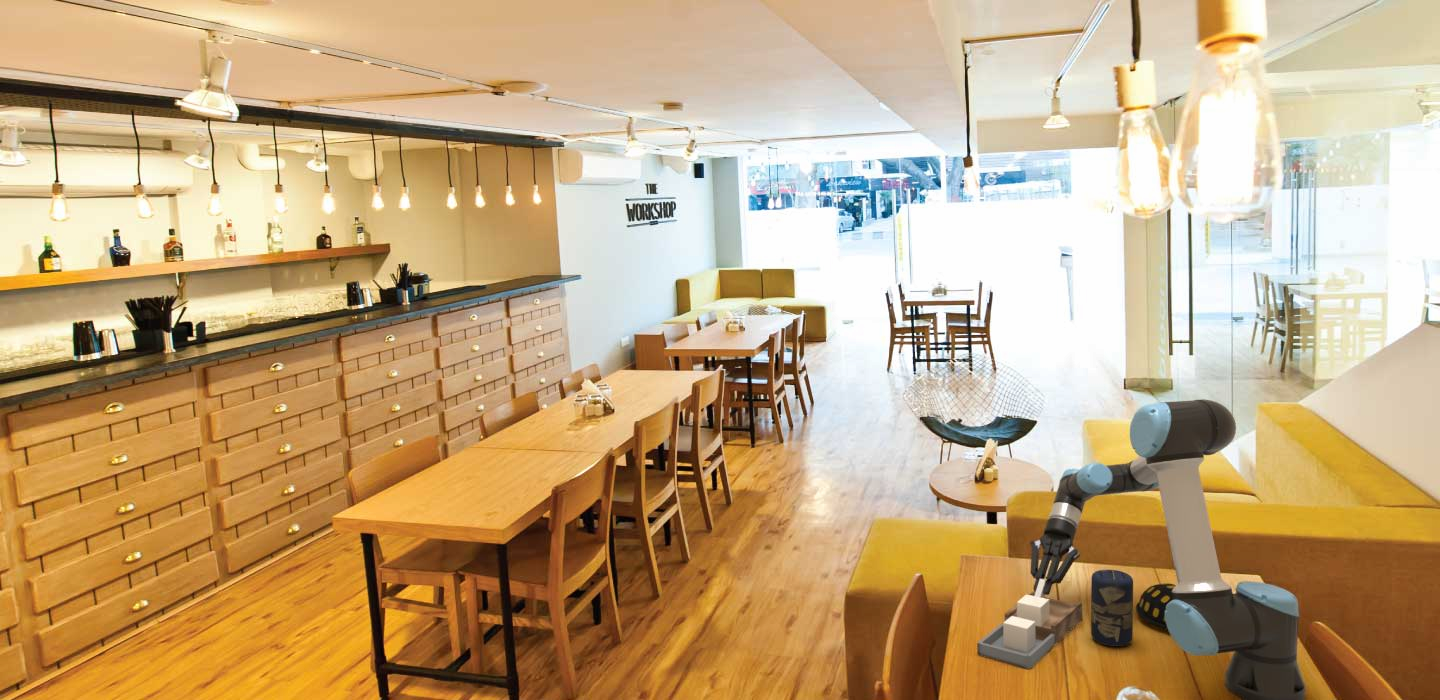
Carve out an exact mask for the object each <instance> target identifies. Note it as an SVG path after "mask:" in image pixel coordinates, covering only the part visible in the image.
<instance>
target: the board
mask: <svg viewBox="0 0 1440 700" xmlns="http://www.w3.org/2000/svg"><path fill="white" fill-rule="evenodd" d="M1028 595H1031V596H1035V591H1034V590H1033V591H1032V592H1030V593H1029V594H1028ZM1045 599H1050V618H1049V619H1048V620H1047V621H1046V622H1045V623H1044V624H1043V625H1042V626H1041V627H1039V626H1035V632H1036V639H1038V640H1042V641H1044V640H1045V639H1046V638H1047V637H1048V636H1049V635H1050V634H1055V644H1056V643H1057V644H1059V642H1061V641H1062V640H1063V639H1064V638H1065V637H1066V636H1067V635H1068V634H1069V633H1070V632H1071V631H1072V630H1074V629H1073V627H1075V626H1076V625H1077V624H1078V623H1079V622H1080V621H1081V622H1083V601H1079V600H1078V601H1077V602H1076V603H1072V602H1068V601H1064V600H1059V599H1055V598H1050V597H1046V596H1045ZM1011 616H1015V617H1017V603H1016V604H1015V605H1014V606H1012V607H1011V608H1010V609H1009V610H1008V611H1006V612H1005V613H1004V622H1005V621H1006V620H1007V619H1009V618H1010V617H1011ZM1081 622H1080V623H1081ZM1080 623H1079V624H1080ZM1079 624H1078V625H1079ZM1078 625H1077V626H1078ZM1077 626H1076V627H1077ZM1076 627H1075V628H1076ZM1071 629H1072V630H1071ZM1069 631H1070V632H1069ZM1067 633H1068V634H1067ZM1066 634H1067V635H1066ZM1065 635H1066V636H1065ZM1064 636H1065V637H1064ZM1063 637H1064V638H1063ZM1062 638H1063V639H1062ZM1061 639H1062V640H1061ZM1060 640H1061V641H1060ZM1057 644H1056V645H1057Z"/></svg>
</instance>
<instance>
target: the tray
mask: <svg viewBox="0 0 1440 700" xmlns="http://www.w3.org/2000/svg"><path fill="white" fill-rule="evenodd" d="M1004 622H1005V621H1003V622H1001V624H999V625H998V626H996V627H995V628H993V630H991V632H989V633H988V634H987V635H985V636H984V637H983V638H982V639H980V640H979V641H977V643H976V645H977V646H976V647H977V648H976V649H977V654H979V655H978V656H980V655H982V656H981V657H984V656H986V657H985V658H987V657H989V658H988V659H991V658H992V660H994V661H995V660H996V661H999V662H1002V663H1006V664H1009V665H1012V666H1017V667H1020V668H1024V669H1027V670H1030V669H1031V668H1032V667H1034V666H1035V665H1036V664H1037V663H1038V662H1039V661H1041V659H1042V658H1043V657H1044V656H1045V655H1047V652H1048V651H1049V650H1050V649H1051V648H1052V647H1053V646H1054V645H1055V634H1050V635H1049V636H1048V637H1047V638H1046V639H1045V640H1044V641H1042V640H1038V639H1036V645H1035V646H1034V647H1033V648H1032V649H1030V650H1029V651H1028V652H1024V651H1020V650H1016V649H1013V648H1009V647H1005V646H1004V641H1003V623H1004ZM1055 646H1056V645H1055ZM1055 646H1054V647H1055ZM1054 647H1053V648H1054ZM1053 648H1052V649H1053ZM1052 649H1051V650H1052ZM1051 650H1050V651H1051ZM1050 651H1049V652H1050ZM1049 652H1048V653H1049Z"/></svg>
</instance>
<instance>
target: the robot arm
mask: <svg viewBox="0 0 1440 700" xmlns="http://www.w3.org/2000/svg"><path fill="white" fill-rule="evenodd" d="M1236 432H1237V423H1236V419H1235V418H1234V415H1233V414H1232V412H1231V411H1230V410H1229V409H1228V408H1227V407H1225V406H1224V405H1223V404H1221V403H1219V402H1218V401H1213V400H1210V399H1204V398H1203V399H1194V400H1179V401H1162V402H1155V403H1149V404H1146V405H1143V406H1141V407H1140V408H1138V409H1137V410H1136V411H1135V413H1134V414H1133V417H1132V419H1131V422H1130V425H1129V441H1130V444H1131V447H1132V449H1133V450H1134V452H1135V453H1136V455H1138V456H1137V457H1136V458H1134V459H1133V460H1131V461H1130V462H1126V463H1119V464H1117V463H1116V464H1107V465H1106V464H1103V463H1101V462H1098V461H1097V462H1091V463H1088V464H1086V465H1085V466H1082V467H1081V468H1080V469H1078V468H1067V469H1066V470H1064V472H1063V473H1062V476H1061V478H1060V480H1059V482H1058V487H1057V490H1056V494H1055V496H1054V499H1053V504H1052V507H1051V510H1050V512H1049V514H1048V520H1047V521H1046V525H1045V527H1044V531H1043V534H1042V536H1041V537H1040V539H1039V540H1038V539H1037V540H1036V541H1034V540H1030V541H1029V544H1030V547H1031V557H1030V560H1031V561H1030V573H1029V574H1030V575H1031V577H1032V578H1033V579H1035V581H1034V585H1033V591H1035V596H1036V597H1041V598H1045V597H1046V596H1049V595H1050V593H1051V591H1052V586H1053V585H1054V584H1057V585H1058V584H1061V583H1062V581H1063V580H1064V578H1065V577H1066V576H1067V573H1068V572H1069V570H1070V569H1071V567H1072V565H1073V563H1074V562H1075V561H1076V560H1077V559H1078V558H1079V557H1080V555H1081V554H1080V552H1079V551H1078V549H1077V548H1074V544H1073V541H1074V539H1075V536H1076V533H1077V528H1078V526H1079V523H1080V520H1081V516H1082V513H1083V510H1084V507H1085V504H1086V503H1087V501H1089V500H1091V499H1092V498H1094V497H1097V496H1104V495H1105V496H1107V495H1116V494H1122V493H1123V494H1125V493H1127V494H1128V493H1136V492H1147V491H1152V490H1155V489H1157V488H1158V490H1159V494H1160V500H1161V504H1162V509H1163V514H1164V515H1163V516H1164V520H1165V523H1166V529H1167V530H1166V531H1167V535H1168V541H1169V545H1170V549H1171V555H1172V559H1173V564H1174V570H1175V574H1176V575H1175V577H1176V580H1177V583H1176V584H1175V585H1176V586H1175V587H1174V589H1173V590H1172V594H1173V599H1174V600H1172V601H1171V602H1169V603H1168V604H1167V605H1166V610H1165V621H1166V625H1167V628H1168V629H1167V630H1168V632H1169V634H1170V636H1171V638H1172V639H1173V641H1174V642H1175V644H1176V645H1177V646H1179V648H1181V650H1183V651H1184V652H1186V653H1188V654H1190V655H1191V656H1192V655H1193V656H1215V655H1217V654H1225V653H1232V652H1234V653H1233V655H1232V656H1231V659H1230V662H1229V664H1228V666H1227V668H1226V670H1225V675H1224V677H1225V678H1224V680H1225V681H1224V685H1225V686H1226V688H1227V689H1228V690H1229V691H1230V692H1231V693H1233V694H1234V695H1235V696H1238V697H1239V698H1241V699H1243V700H1305V699H1306V684H1305V681H1304V678H1303V675H1302V673H1301V669H1300V667H1299V663H1298V640H1299V639H1298V638H1299V637H1298V633H1299V619H1300V618H1299V617H1300V613H1299V601H1298V598H1297V597H1296V596H1295V595H1294V594H1293V593H1292V592H1291V591H1289V590H1286V589H1285V588H1282V587H1280V586H1277V585H1274V584H1269V583H1265V582H1260V581H1254V580H1253V581H1247V580H1245V581H1239V582H1238V583H1237V584H1236V587H1235V593H1233V589H1232V586H1231V585H1230V584H1229V583H1227V582H1225V580H1223V579H1222V575H1221V571H1220V570H1221V569H1220V565H1219V560H1218V557H1217V551H1216V545H1215V541H1214V537H1213V531H1212V527H1211V522H1210V518H1209V512H1208V509H1207V508H1208V507H1207V504H1206V503H1207V502H1206V498H1205V494H1204V493H1205V492H1204V488H1203V484H1202V479H1201V474H1200V470H1199V467H1200V465H1202V463H1203V462H1204V460H1205V456H1212V455H1215V454H1216V453H1218V452H1220V451H1222V450H1223V449H1225V448H1226V447H1228V446H1229V445H1230V444H1231V443H1232V442H1233V440H1234V439H1235V436H1236ZM1041 546H1042V548H1043V551H1042V558H1041V560H1040V549H1041ZM1066 554H1067V555H1066ZM1065 555H1066V556H1065ZM1063 556H1065V557H1064V559H1063ZM1062 559H1063V561H1062ZM1061 562H1062V563H1061ZM1039 563H1040V564H1039Z"/></svg>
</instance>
